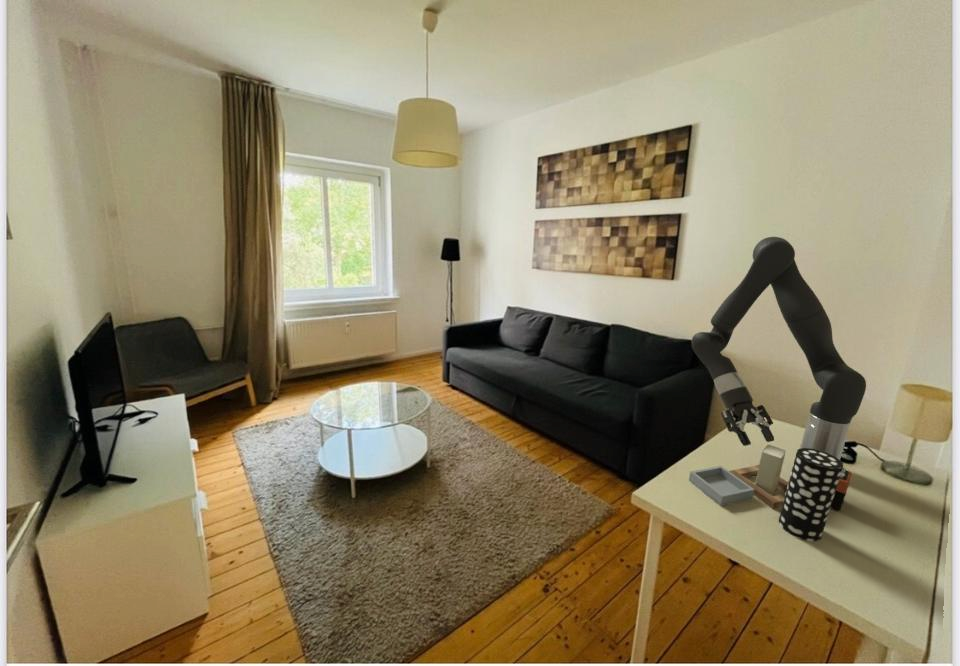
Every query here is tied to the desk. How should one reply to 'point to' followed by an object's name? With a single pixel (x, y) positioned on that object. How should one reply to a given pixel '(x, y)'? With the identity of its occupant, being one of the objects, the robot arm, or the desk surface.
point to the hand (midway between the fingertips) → (759, 443)
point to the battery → (841, 490)
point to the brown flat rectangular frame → (760, 493)
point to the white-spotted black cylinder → (810, 493)
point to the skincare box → (770, 468)
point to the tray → (721, 485)
